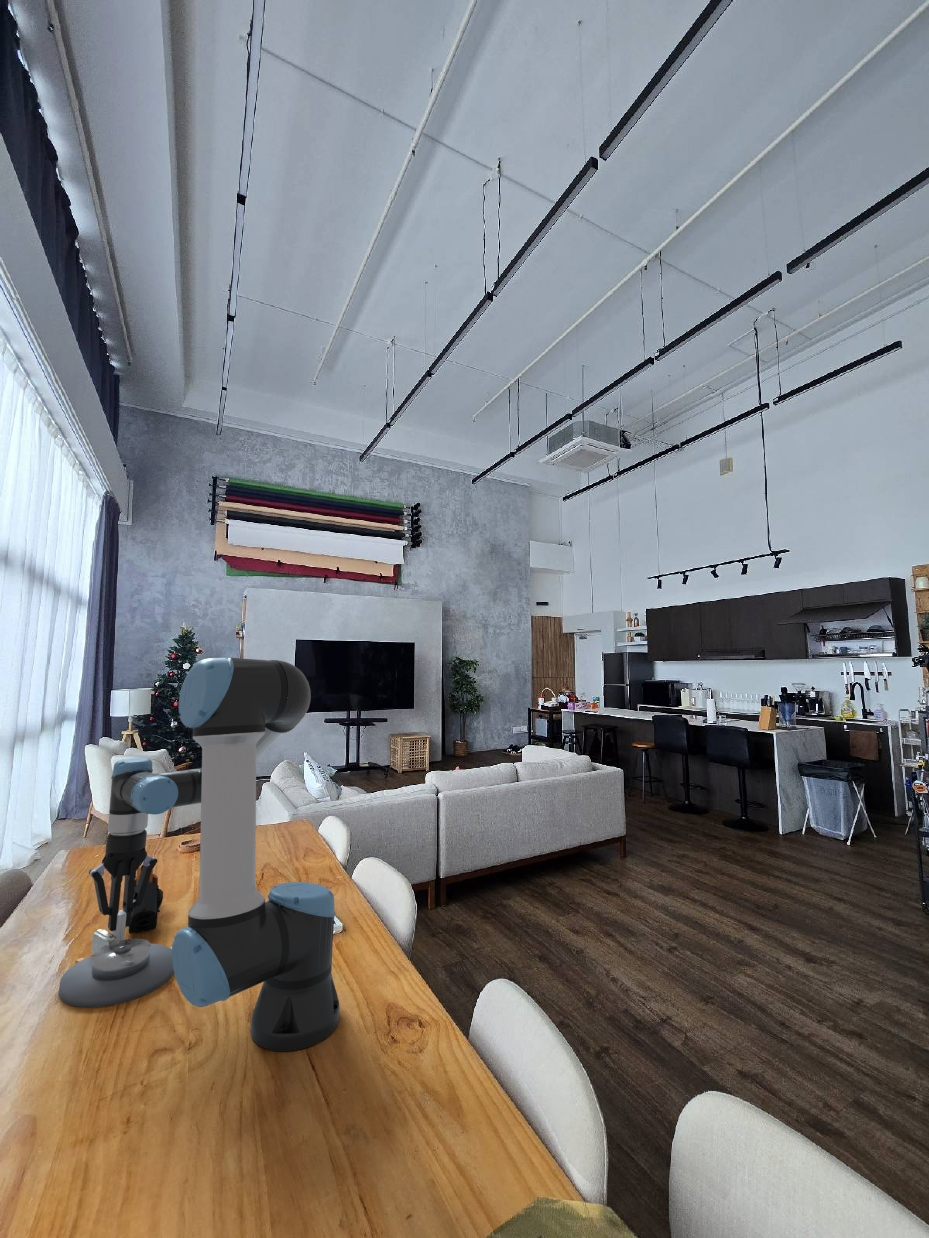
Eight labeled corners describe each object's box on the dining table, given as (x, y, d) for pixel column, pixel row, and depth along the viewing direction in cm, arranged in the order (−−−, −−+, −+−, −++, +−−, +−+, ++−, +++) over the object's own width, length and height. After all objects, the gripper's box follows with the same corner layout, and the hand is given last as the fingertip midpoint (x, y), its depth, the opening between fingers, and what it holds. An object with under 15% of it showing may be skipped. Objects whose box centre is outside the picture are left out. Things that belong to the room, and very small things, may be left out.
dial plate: (202, 973, 112) (202, 963, 113) (73, 1021, 96) (74, 1009, 96) (162, 937, 127) (162, 928, 128) (45, 973, 111) (46, 963, 111)
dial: (159, 962, 112) (161, 940, 112) (106, 985, 104) (108, 961, 104) (121, 941, 120) (123, 921, 121) (69, 960, 112) (71, 938, 112)
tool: (120, 968, 127) (123, 915, 123) (126, 897, 146) (129, 849, 142) (159, 959, 131) (164, 908, 127) (160, 891, 150) (164, 844, 146)
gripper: (153, 822, 127) (144, 928, 125) (87, 833, 118) (76, 948, 115) (165, 828, 122) (157, 939, 120) (98, 840, 113) (86, 961, 110)
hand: (117, 944), depth 117 cm, fingers closed
